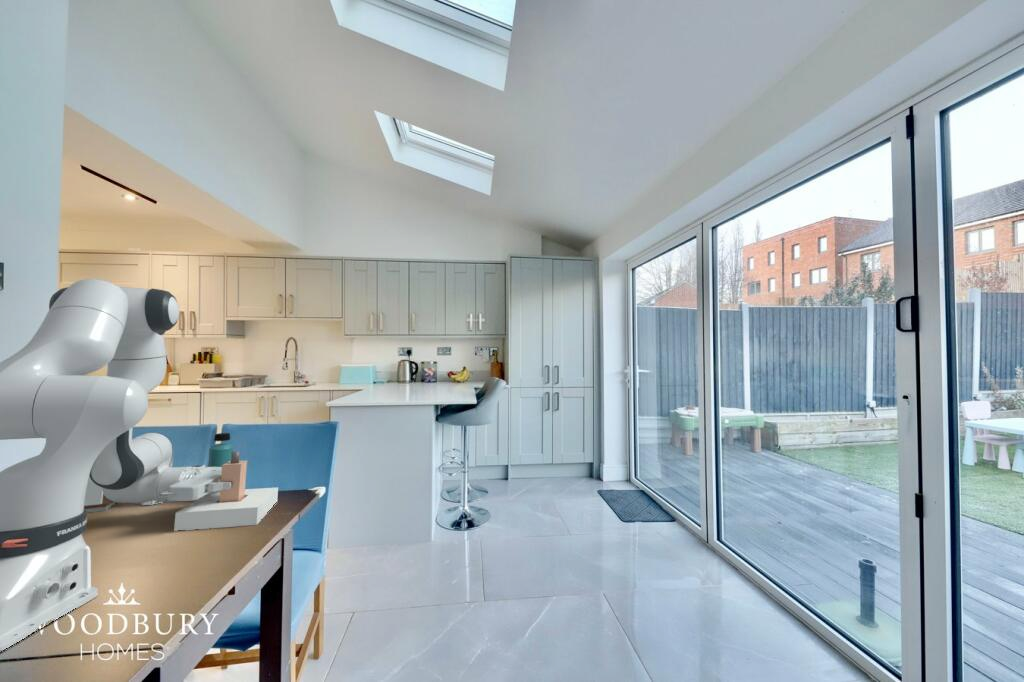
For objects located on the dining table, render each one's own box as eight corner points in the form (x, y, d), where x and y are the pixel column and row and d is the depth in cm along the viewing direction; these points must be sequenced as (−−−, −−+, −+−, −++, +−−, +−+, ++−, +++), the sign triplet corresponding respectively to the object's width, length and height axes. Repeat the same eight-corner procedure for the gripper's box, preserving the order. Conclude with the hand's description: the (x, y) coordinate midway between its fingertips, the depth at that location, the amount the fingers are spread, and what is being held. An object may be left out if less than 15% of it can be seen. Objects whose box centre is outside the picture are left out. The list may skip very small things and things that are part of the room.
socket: (256, 524, 101) (257, 507, 102) (173, 531, 96) (175, 512, 97) (277, 502, 119) (278, 487, 119) (208, 507, 114) (209, 491, 114)
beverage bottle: (235, 494, 125) (240, 432, 127) (218, 501, 118) (223, 435, 120) (217, 493, 126) (222, 431, 127) (198, 500, 119) (204, 434, 121)
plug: (237, 508, 106) (241, 453, 107) (218, 510, 105) (222, 453, 106) (243, 503, 110) (247, 449, 112) (225, 504, 109) (229, 450, 110)
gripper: (154, 482, 96) (217, 480, 99) (202, 463, 116) (254, 462, 118) (152, 509, 95) (215, 506, 98) (201, 485, 115) (252, 483, 118)
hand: (237, 482), depth 108 cm, fingers closed on plug, 5 cm apart
